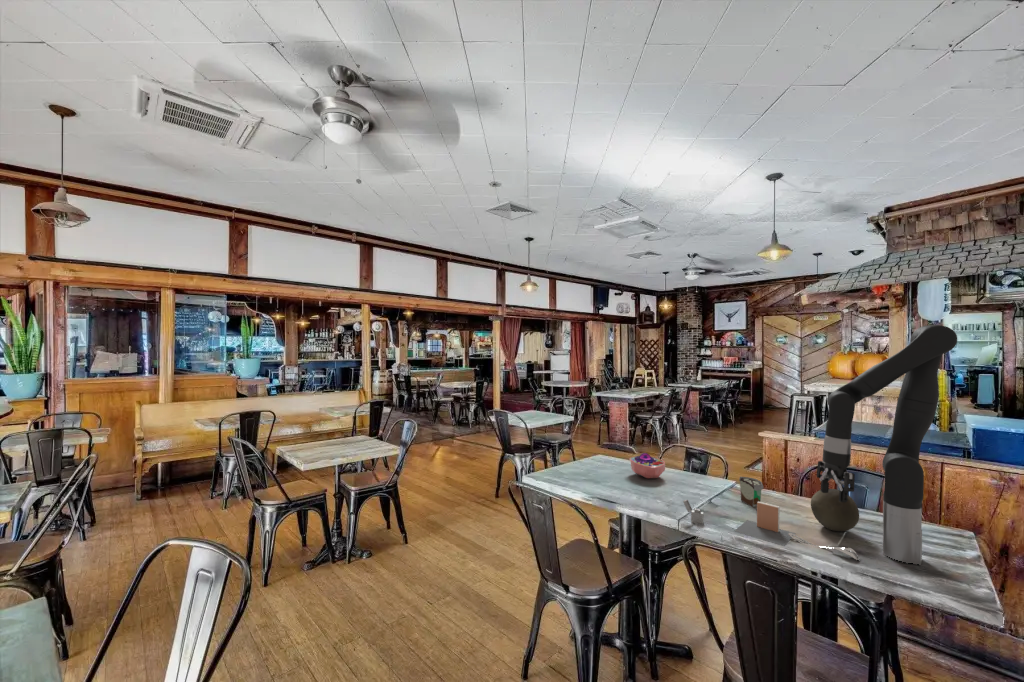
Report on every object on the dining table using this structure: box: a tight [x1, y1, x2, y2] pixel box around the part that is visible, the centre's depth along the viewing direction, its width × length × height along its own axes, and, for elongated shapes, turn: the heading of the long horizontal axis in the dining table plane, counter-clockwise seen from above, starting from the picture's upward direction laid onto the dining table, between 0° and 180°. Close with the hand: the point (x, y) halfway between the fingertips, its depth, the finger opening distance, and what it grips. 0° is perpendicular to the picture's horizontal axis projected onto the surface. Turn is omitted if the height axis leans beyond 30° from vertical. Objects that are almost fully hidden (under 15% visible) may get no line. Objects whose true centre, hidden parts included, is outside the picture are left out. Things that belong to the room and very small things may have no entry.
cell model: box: [629, 452, 666, 479], centre depth 221 cm, size 17×20×11 cm
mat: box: [734, 519, 796, 547], centre depth 157 cm, size 16×14×1 cm
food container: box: [738, 476, 764, 508], centre depth 185 cm, size 12×6×10 cm, turn 0°
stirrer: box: [788, 532, 861, 561], centre depth 145 cm, size 20×4×5 cm
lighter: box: [682, 499, 705, 525], centre depth 166 cm, size 7×2×8 cm, turn 53°
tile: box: [756, 501, 780, 532], centre depth 159 cm, size 7×2×9 cm, turn 44°
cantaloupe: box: [810, 488, 860, 532], centre depth 159 cm, size 14×14×15 cm
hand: (833, 497), depth 148 cm, fingers open, 8 cm apart
